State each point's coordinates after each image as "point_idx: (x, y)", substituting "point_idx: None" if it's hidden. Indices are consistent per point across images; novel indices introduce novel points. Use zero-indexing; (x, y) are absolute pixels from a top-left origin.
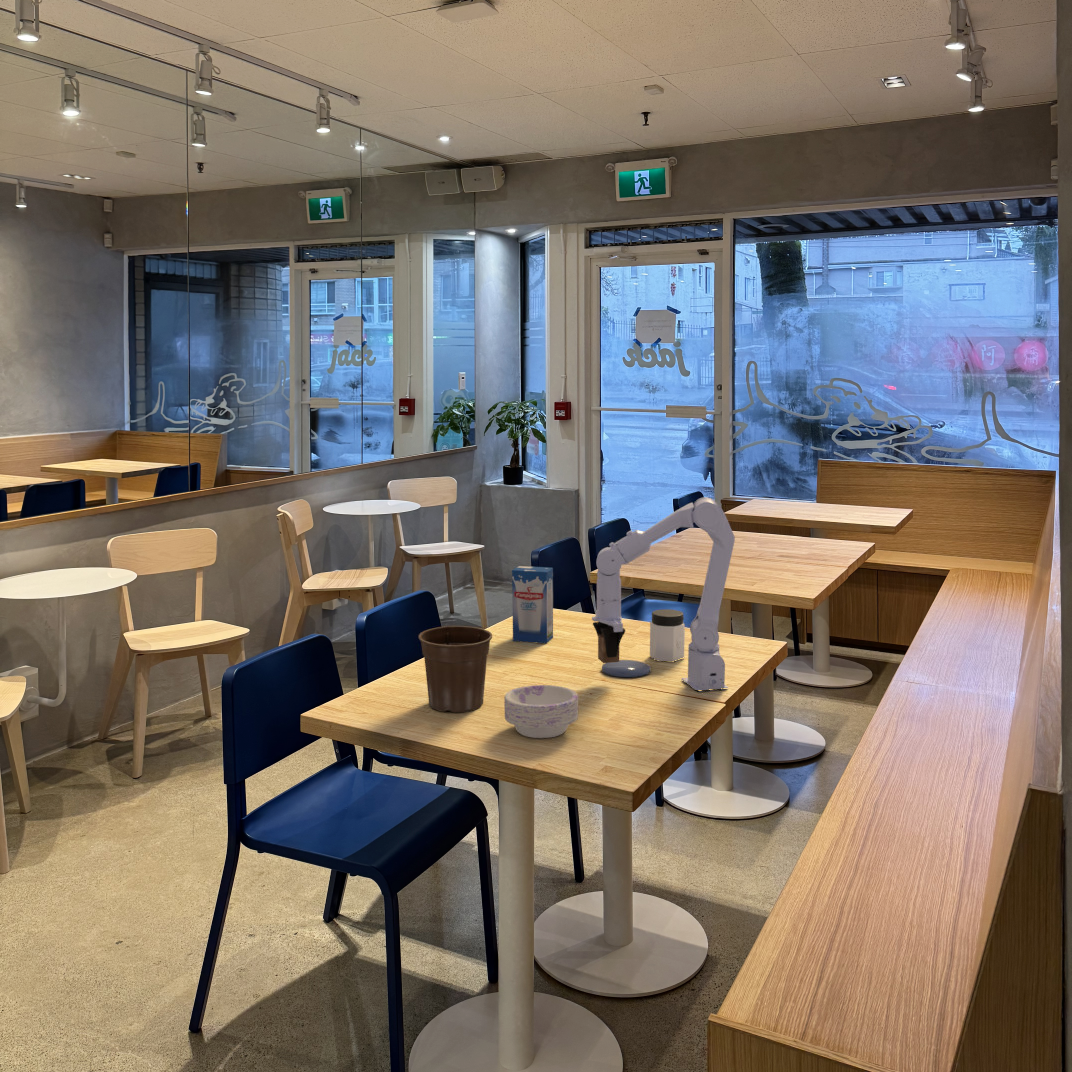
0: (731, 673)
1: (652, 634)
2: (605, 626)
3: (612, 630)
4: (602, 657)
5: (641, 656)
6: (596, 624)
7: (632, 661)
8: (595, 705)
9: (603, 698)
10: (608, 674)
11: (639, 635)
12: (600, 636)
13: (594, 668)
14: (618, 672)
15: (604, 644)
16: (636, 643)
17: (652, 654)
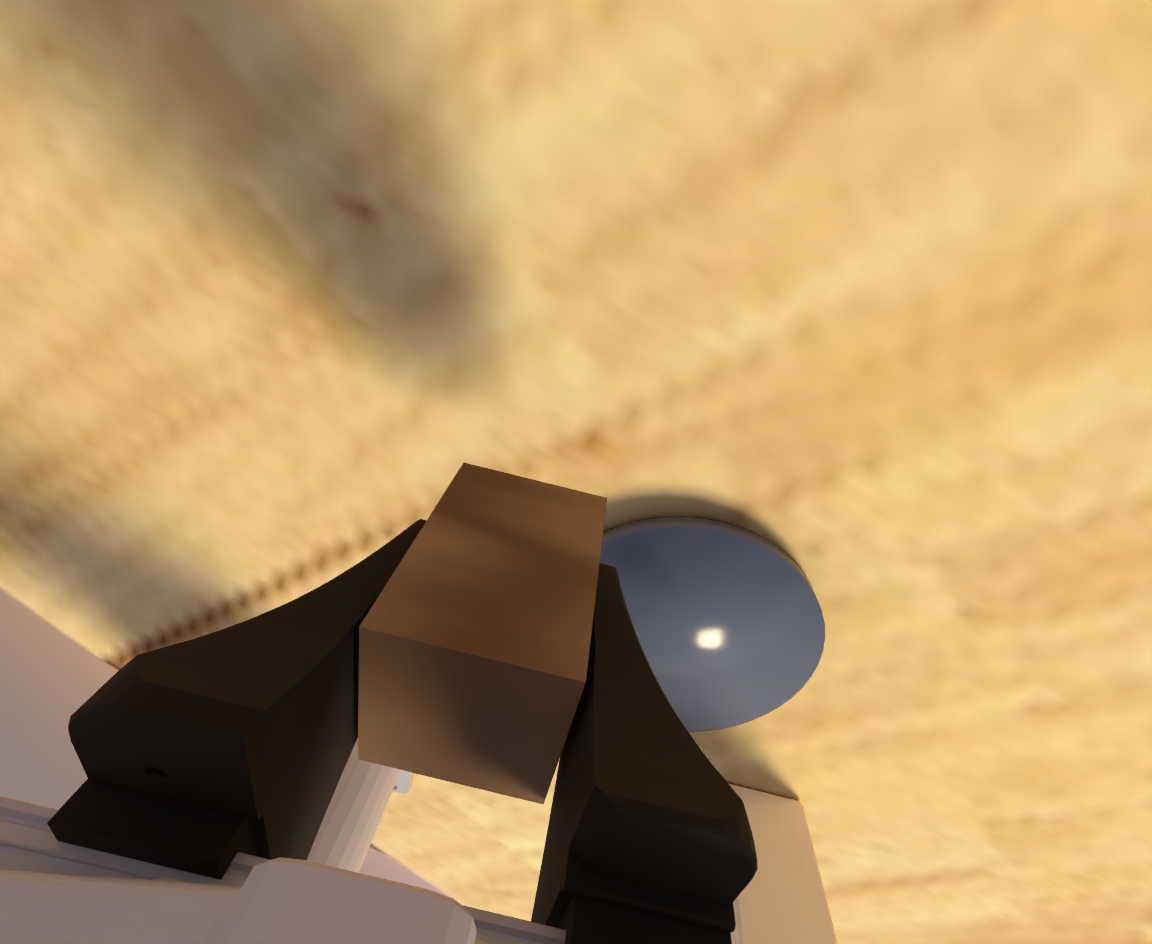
0: (438, 841)
1: (797, 939)
2: (560, 851)
3: (92, 782)
4: (474, 491)
5: (830, 781)
6: (604, 826)
7: (740, 709)
8: (90, 86)
9: (237, 236)
10: (656, 518)
11: (1102, 922)
12: (483, 654)
13: (835, 525)
14: (606, 562)
15: (393, 582)
16: (1017, 863)
17: (767, 811)
